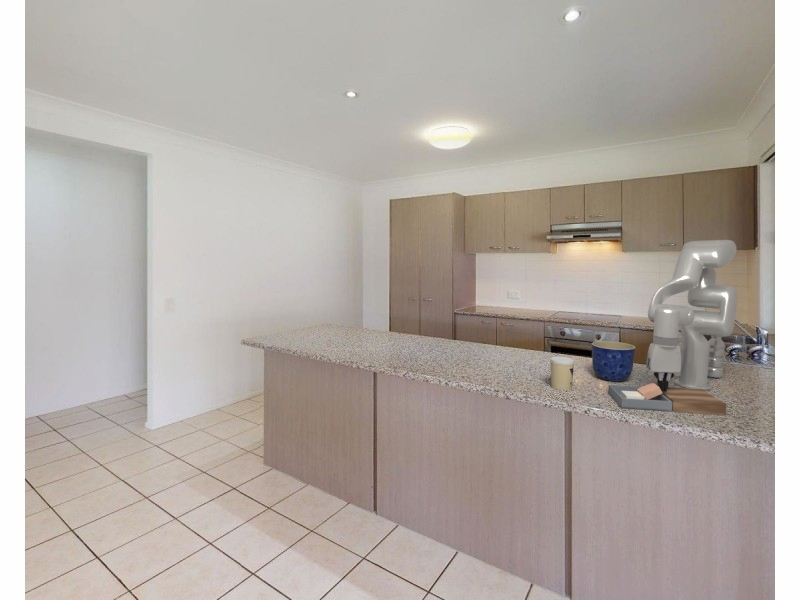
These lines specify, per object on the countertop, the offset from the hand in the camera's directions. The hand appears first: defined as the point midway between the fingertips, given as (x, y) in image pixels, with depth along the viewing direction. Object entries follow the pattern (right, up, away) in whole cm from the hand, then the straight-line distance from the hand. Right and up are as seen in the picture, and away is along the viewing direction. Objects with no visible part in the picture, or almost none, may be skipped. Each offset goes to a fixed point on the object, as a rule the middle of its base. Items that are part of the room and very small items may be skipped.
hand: (662, 390), depth 147 cm
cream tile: (-10, -2, +2) cm, 10 cm away
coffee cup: (-29, -3, +19) cm, 35 cm away
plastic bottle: (+44, -2, +32) cm, 55 cm away
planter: (-2, -2, +31) cm, 31 cm away
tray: (-8, -5, +2) cm, 9 cm away
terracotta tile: (-3, -2, +1) cm, 4 cm away
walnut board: (+8, -5, -1) cm, 10 cm away
